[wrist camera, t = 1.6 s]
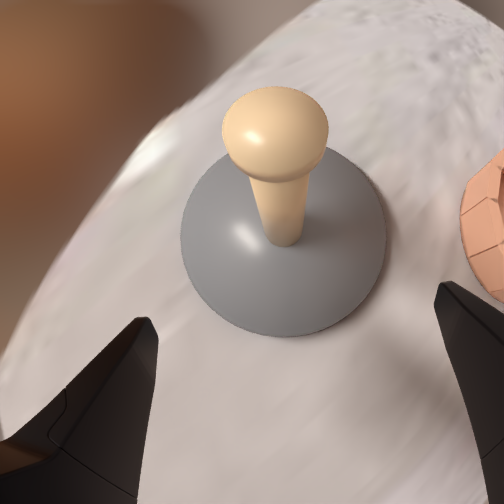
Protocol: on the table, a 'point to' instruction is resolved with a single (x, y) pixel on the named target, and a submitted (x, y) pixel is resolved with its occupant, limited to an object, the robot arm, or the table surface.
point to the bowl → (485, 226)
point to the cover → (282, 221)
